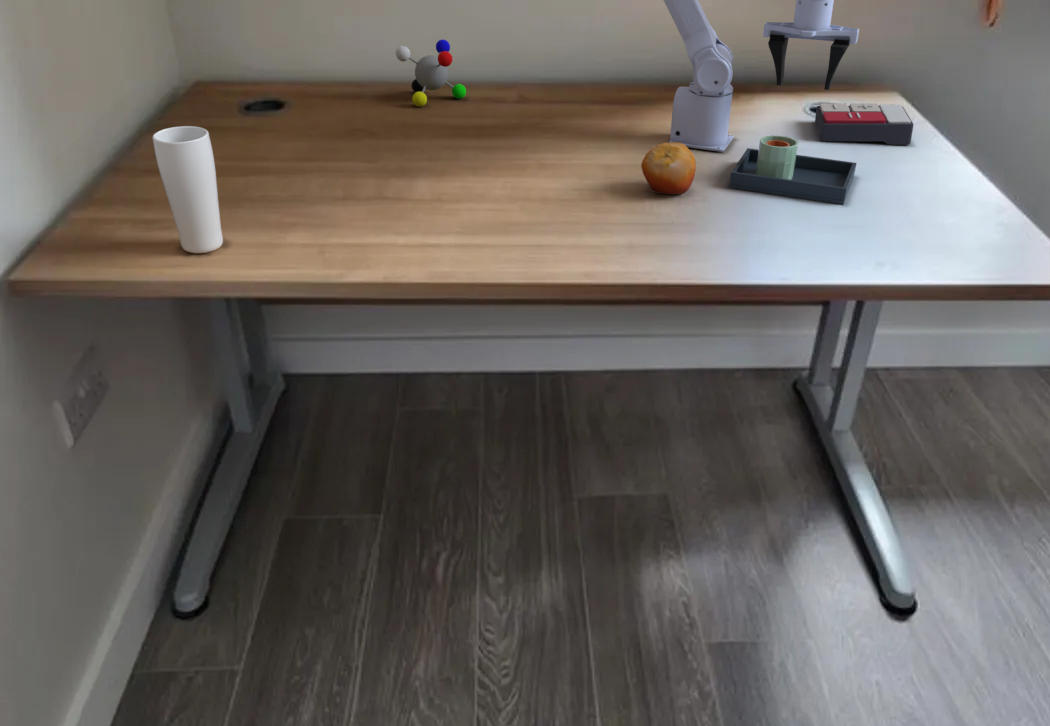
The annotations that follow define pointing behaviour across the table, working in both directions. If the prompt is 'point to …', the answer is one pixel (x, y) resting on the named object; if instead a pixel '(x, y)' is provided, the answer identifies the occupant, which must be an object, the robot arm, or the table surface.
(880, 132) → the grey and red box
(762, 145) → the green cup
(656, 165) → the fruit
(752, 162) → the tray
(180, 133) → the drinking glass
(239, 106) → the table surface
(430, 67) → the molecular model
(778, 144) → the brown cup
